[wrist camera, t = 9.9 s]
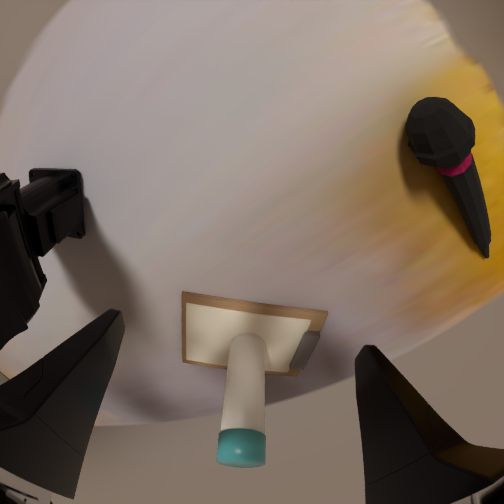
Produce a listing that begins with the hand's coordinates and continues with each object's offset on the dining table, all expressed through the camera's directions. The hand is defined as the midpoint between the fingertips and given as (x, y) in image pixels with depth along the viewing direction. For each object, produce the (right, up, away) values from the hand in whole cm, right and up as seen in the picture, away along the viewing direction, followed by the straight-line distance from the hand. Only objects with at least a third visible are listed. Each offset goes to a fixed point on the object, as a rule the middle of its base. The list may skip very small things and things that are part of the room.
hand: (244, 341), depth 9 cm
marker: (0, -7, +18) cm, 19 cm away
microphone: (+18, +8, +10) cm, 23 cm away
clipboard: (0, -6, +19) cm, 20 cm away
